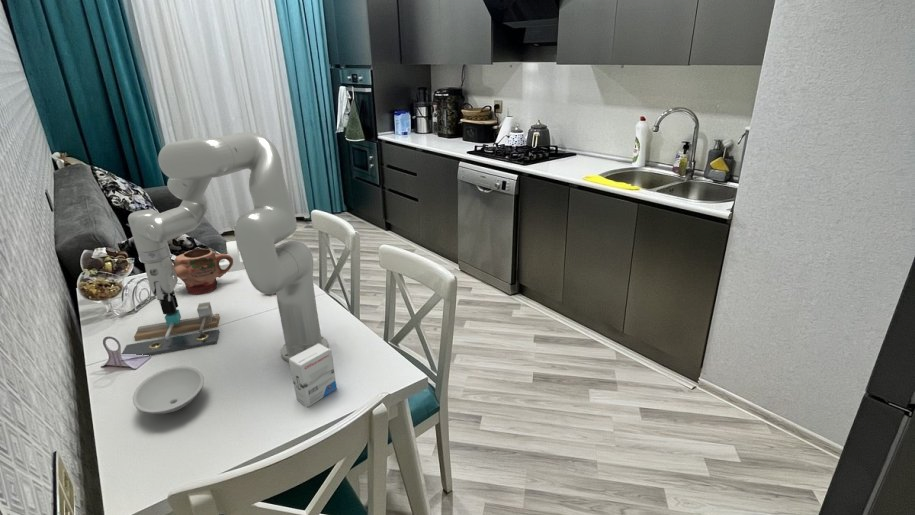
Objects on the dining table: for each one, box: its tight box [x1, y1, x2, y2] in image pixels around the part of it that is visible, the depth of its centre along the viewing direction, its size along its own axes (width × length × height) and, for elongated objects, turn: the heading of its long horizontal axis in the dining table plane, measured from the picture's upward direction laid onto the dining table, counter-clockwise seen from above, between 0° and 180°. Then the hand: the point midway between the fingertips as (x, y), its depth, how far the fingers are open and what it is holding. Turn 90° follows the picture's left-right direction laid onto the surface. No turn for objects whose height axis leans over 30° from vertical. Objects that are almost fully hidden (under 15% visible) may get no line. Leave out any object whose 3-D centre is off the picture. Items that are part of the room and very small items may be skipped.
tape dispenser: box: [219, 240, 246, 273], centre depth 186 cm, size 10×18×11 cm, turn 114°
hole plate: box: [121, 328, 221, 357], centre depth 134 cm, size 7×24×1 cm, turn 109°
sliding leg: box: [164, 296, 182, 342], centre depth 137 cm, size 12×3×9 cm, turn 19°
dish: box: [132, 365, 205, 415], centre depth 109 cm, size 18×14×5 cm
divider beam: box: [133, 301, 221, 342], centre depth 138 cm, size 13×22×6 cm, turn 109°
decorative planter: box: [173, 248, 233, 295], centre depth 167 cm, size 20×12×14 cm, turn 120°
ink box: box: [288, 343, 338, 408], centre depth 110 cm, size 9×5×12 cm, turn 141°
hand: (170, 309), depth 140 cm, fingers closed on sliding leg, 2 cm apart
